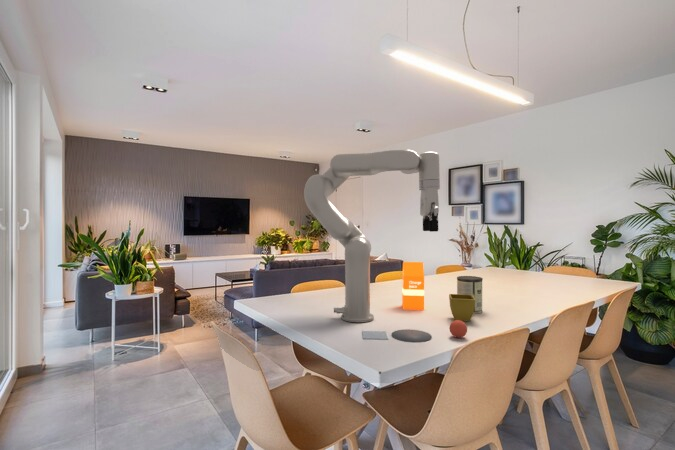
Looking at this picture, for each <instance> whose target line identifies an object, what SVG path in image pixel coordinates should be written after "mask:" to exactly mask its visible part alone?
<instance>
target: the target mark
mask: <svg viewBox="0 0 675 450" xmlns="http://www.w3.org/2000/svg"><path fill="white" fill-rule="evenodd" d="M390 336H391V337H392V338H393V339H395V340H398V341H402V342H408V343H425V342H428V341H430V340H432V339H433V338H432V337H433V336H432V335H431V334H430V333H428V332H426V331H423V330H418V329H408V328H407V329H397V330H393V331H392V332H391V335H390Z"/></svg>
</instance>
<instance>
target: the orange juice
mask: <svg viewBox="0 0 675 450" xmlns="http://www.w3.org/2000/svg"><path fill="white" fill-rule="evenodd" d="M424 270H425V269H424V262H422V261H403V262H402V274H401V275H402V277H401V278H402V280H401V281H402V287H401V293H402V295H401V299H402V300H401V301H402V303H401V306H402V308H403V309H402V310H415V311H416V310H419V311H421V310H422V311H423V310H425V275H424V274H425V273H424V272H425V271H424Z"/></svg>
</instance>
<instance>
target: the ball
mask: <svg viewBox="0 0 675 450" xmlns="http://www.w3.org/2000/svg"><path fill="white" fill-rule="evenodd" d="M448 329H449V332H450V334H451V335H452V336H453V337H454V338H458V339H459V338H460V339H461V338H463V337H465V336H466V335H467V333H468V326H467V325H466V323H465V321H460V320H455V319H454V320H453V321H452V322H451V323H450V324H449V328H448Z"/></svg>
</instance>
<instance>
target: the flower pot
mask: <svg viewBox="0 0 675 450" xmlns="http://www.w3.org/2000/svg"><path fill="white" fill-rule="evenodd" d="M448 298H449V299H448V300H449V307H450V312H451V314H452V317H453V320H454V321H455V320H460V321H462V322H470V321H471V319H472V317H473V316H474V314H475V313H474V307H475V298H474V297H473V296H472V295H463V294H457V293H449V294H448Z"/></svg>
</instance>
